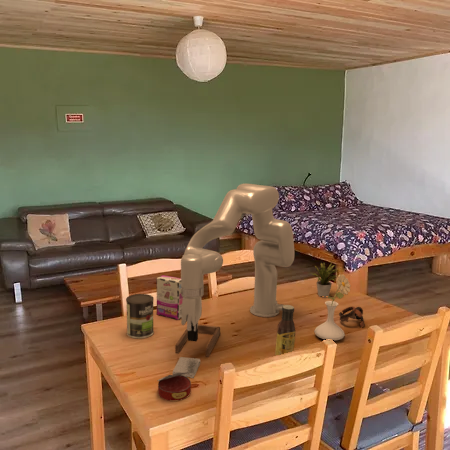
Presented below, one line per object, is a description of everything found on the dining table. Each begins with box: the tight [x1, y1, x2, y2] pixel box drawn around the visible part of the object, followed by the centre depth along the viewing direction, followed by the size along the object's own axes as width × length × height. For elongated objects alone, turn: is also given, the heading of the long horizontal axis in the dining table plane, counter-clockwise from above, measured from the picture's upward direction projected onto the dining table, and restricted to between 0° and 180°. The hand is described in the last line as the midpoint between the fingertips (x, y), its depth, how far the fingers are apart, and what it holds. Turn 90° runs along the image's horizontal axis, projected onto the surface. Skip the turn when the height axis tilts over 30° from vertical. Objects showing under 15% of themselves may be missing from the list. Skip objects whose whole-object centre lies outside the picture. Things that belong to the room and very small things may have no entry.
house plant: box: [312, 262, 340, 298], centre depth 226 cm, size 14×14×16 cm
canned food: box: [157, 373, 192, 401], centre depth 144 cm, size 11×10×10 cm
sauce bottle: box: [274, 304, 296, 356], centre depth 163 cm, size 6×6×20 cm
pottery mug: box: [338, 306, 366, 328], centre depth 198 cm, size 12×9×8 cm
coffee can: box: [125, 293, 155, 340], centre depth 183 cm, size 10×10×14 cm
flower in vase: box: [314, 273, 351, 341], centre depth 182 cm, size 13×11×25 cm
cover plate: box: [172, 356, 201, 379], centre depth 158 cm, size 7×10×2 cm
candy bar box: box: [155, 274, 183, 321], centre depth 200 cm, size 11×5×16 cm, turn 62°
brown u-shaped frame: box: [174, 324, 221, 358], centre depth 177 cm, size 12×19×3 cm, turn 168°
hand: (192, 340), depth 167 cm, fingers closed
